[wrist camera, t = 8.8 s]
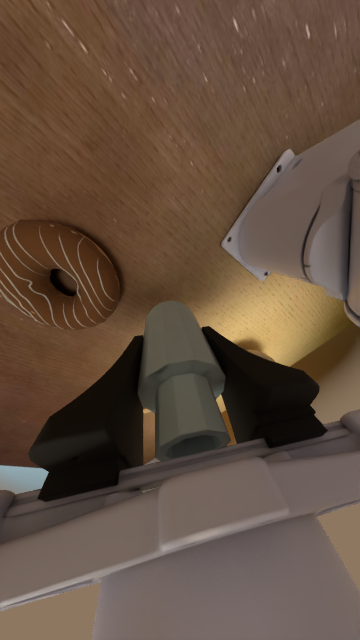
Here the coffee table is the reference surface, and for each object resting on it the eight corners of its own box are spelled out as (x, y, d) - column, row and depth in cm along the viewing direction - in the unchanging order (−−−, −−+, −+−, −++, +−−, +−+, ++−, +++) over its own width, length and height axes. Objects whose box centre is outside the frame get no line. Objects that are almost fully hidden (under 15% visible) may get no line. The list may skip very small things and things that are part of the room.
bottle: (141, 303, 13) (115, 435, 4) (193, 297, 13) (264, 405, 5) (150, 344, 15) (144, 480, 7) (194, 338, 16) (240, 457, 7)
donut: (133, 250, 15) (127, 254, 12) (114, 328, 20) (105, 346, 16) (7, 197, 12) (-52, 181, 9) (17, 304, 16) (-19, 322, 13)
